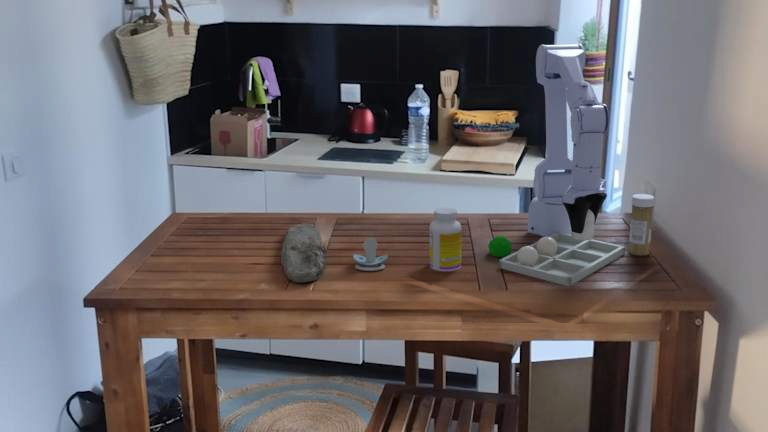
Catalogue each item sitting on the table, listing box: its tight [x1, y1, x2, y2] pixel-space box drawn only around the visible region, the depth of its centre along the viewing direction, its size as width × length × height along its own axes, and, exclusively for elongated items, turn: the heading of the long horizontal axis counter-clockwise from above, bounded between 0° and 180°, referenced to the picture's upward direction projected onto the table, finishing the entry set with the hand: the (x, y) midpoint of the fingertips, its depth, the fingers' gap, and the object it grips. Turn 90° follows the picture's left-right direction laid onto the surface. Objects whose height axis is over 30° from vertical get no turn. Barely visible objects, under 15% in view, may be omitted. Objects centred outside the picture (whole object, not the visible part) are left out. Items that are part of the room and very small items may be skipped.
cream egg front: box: [517, 245, 538, 267], centre depth 163 cm, size 4×4×4 cm
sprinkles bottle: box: [628, 193, 655, 256], centre depth 169 cm, size 5×5×14 cm
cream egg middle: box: [537, 236, 557, 257], centre depth 169 cm, size 4×4×4 cm
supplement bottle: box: [429, 207, 462, 272], centre depth 163 cm, size 7×7×13 cm
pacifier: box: [353, 237, 389, 272], centre depth 166 cm, size 7×6×6 cm
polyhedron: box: [488, 235, 513, 258], centre depth 171 cm, size 5×5×5 cm
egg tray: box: [498, 232, 626, 288], centre depth 167 cm, size 16×24×2 cm
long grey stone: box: [280, 222, 328, 284], centre depth 174 cm, size 35×5×10 cm
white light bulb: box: [571, 209, 596, 241], centre depth 162 cm, size 4×4×6 cm
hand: (582, 229), depth 162 cm, fingers closed on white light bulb, 4 cm apart
